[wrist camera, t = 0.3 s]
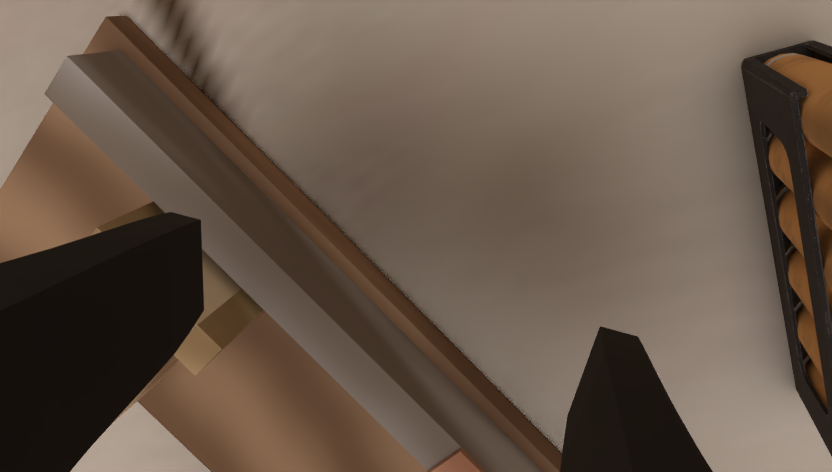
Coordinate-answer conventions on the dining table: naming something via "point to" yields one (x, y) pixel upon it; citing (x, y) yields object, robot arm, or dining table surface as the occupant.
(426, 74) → the dining table surface
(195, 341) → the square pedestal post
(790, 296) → the ammunition clip
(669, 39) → the dining table surface
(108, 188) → the board
